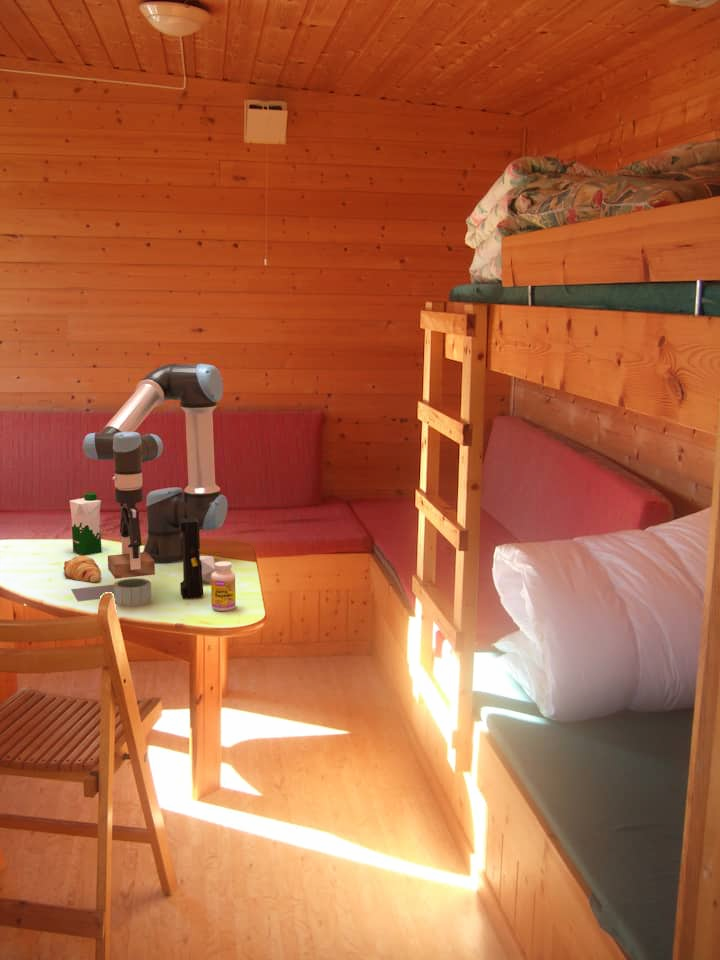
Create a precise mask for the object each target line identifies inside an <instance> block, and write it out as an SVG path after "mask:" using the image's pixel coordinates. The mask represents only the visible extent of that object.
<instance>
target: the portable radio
mask: <svg viewBox="0 0 720 960" xmlns="http://www.w3.org/2000/svg"><path fill="white" fill-rule="evenodd" d="M184 510H185V515H184V518H179V528H180V530H181V532H182V539H183V560H182V565H183V566H182V567H183V568H182V569H183V571H182V572H183V576H182V577H183V580H182V582H180V595H181V597H182V599H200V598H203V596H205V592H204V585H203V584H204V583H202V564H201V561H200V556H201V553H200V549H201V545H200V543H201V541H200V538H201V537H200V530H199V522H198V520H197V519H196V518H195V517H187V515H186V510H187V509H184Z"/></svg>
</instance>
